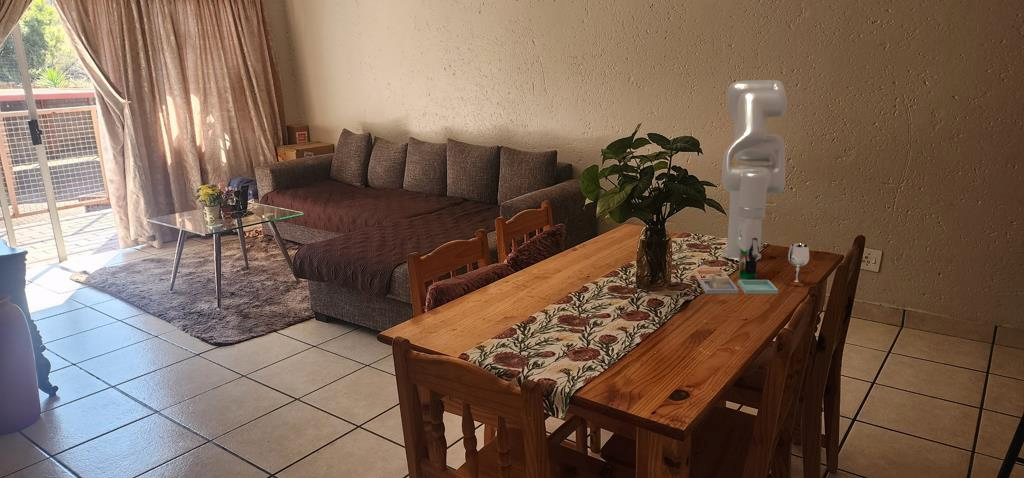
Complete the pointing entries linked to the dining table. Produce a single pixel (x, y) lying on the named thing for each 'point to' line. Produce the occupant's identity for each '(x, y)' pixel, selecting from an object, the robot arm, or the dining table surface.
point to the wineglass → (798, 256)
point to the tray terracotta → (697, 272)
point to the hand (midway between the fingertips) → (747, 269)
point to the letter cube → (719, 281)
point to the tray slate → (708, 290)
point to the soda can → (742, 266)
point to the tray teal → (757, 287)
